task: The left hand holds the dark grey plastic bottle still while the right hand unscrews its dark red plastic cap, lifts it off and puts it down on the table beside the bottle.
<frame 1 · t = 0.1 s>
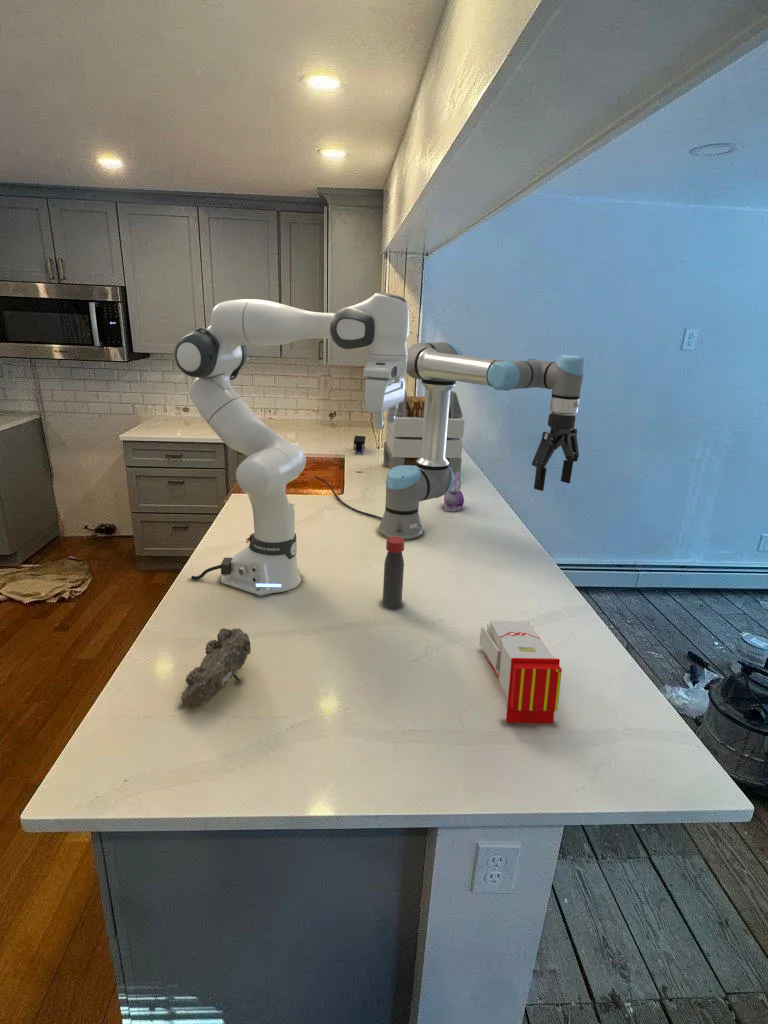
left hand: (385, 425, 137), 48 cm above the counter, tool pointing down, fingers open, 8 cm apart
right hand: (552, 485, 166), 28 cm above the counter, tool pointing down, fingers open, 13 cm apart
toy: (512, 681, 123), on the counter
bottle: (392, 604, 152), on the counter
figurine: (453, 508, 228), on the counter
cap: (395, 541, 146), point 18 cm above the counter, screwed on, not yet turned
fossil: (221, 679, 119), on the counter
white wooden crate: (419, 473, 275), on the counter
figurine character: (359, 451, 311), on the counter
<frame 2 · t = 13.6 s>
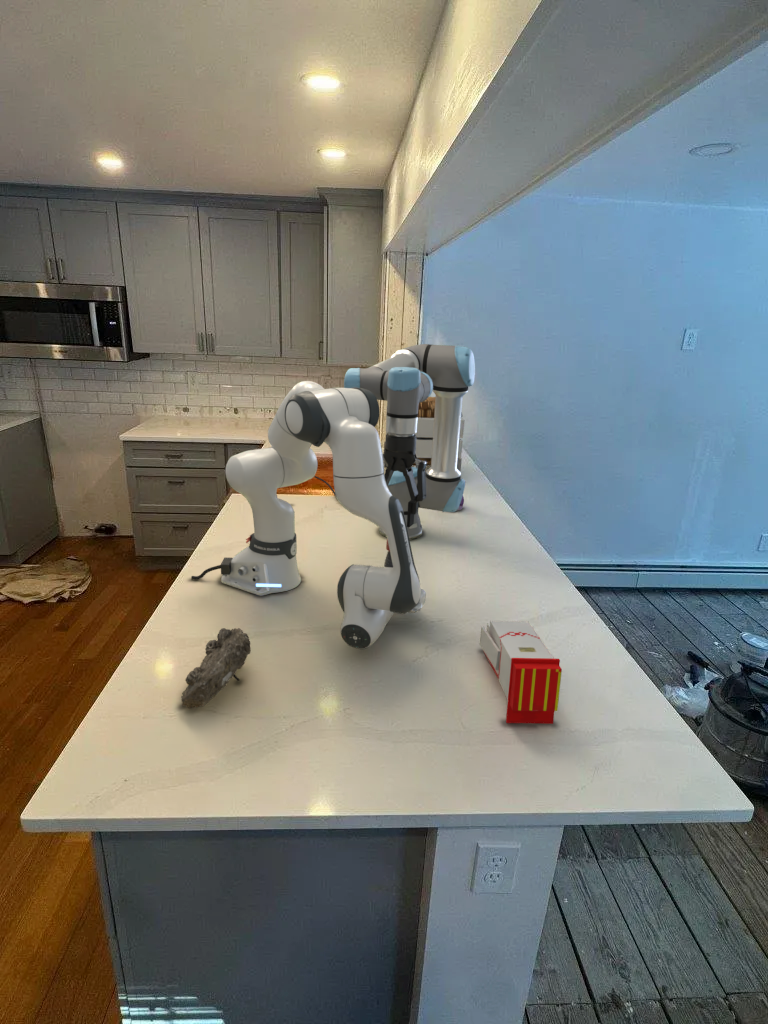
left hand: (394, 580, 151), 7 cm above the counter, tool horizontal, fingers closed on bottle, 5 cm apart
right hand: (396, 522, 144), 24 cm above the counter, tool pointing down, fingers open, 7 cm apart
bottle: (392, 604, 152), on the counter, touching left hand
everything else where it was.
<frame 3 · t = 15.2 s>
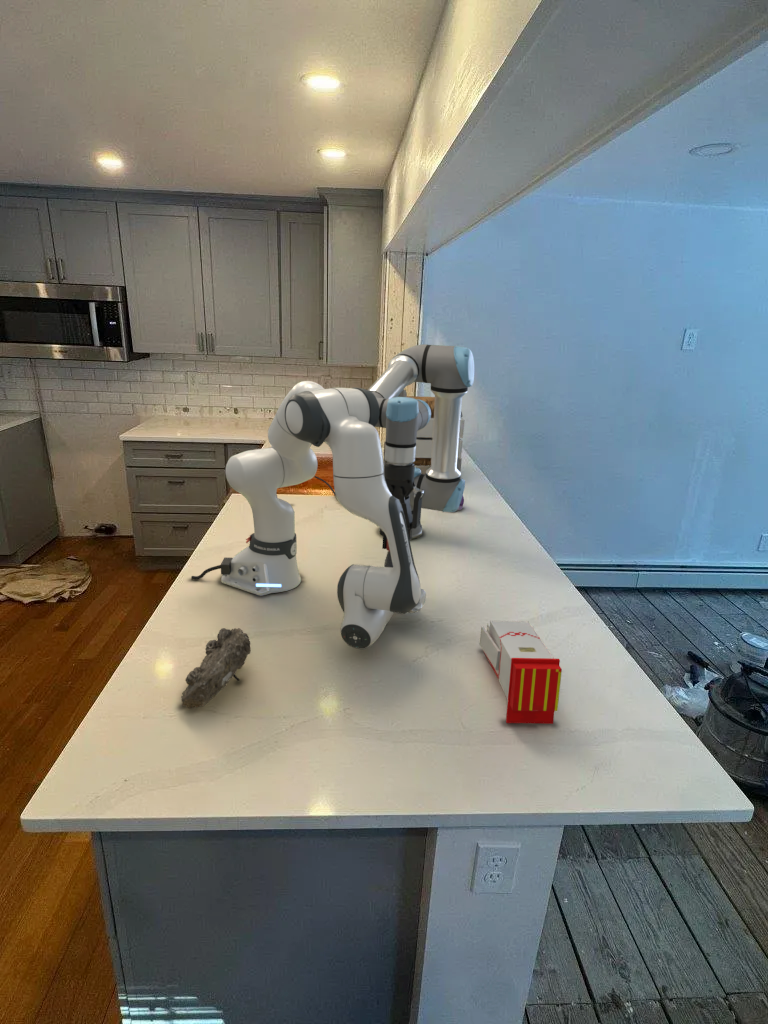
left hand: (394, 580, 151), 7 cm above the counter, tool horizontal, fingers closed on bottle, 5 cm apart
right hand: (395, 549, 147), 16 cm above the counter, tool pointing down, fingers closed on cap, 5 cm apart
bottle: (392, 604, 152), on the counter, touching left hand
cap: (395, 541, 146), point 18 cm above the counter, screwed on, not yet turned, touching right hand
everything else where it was.
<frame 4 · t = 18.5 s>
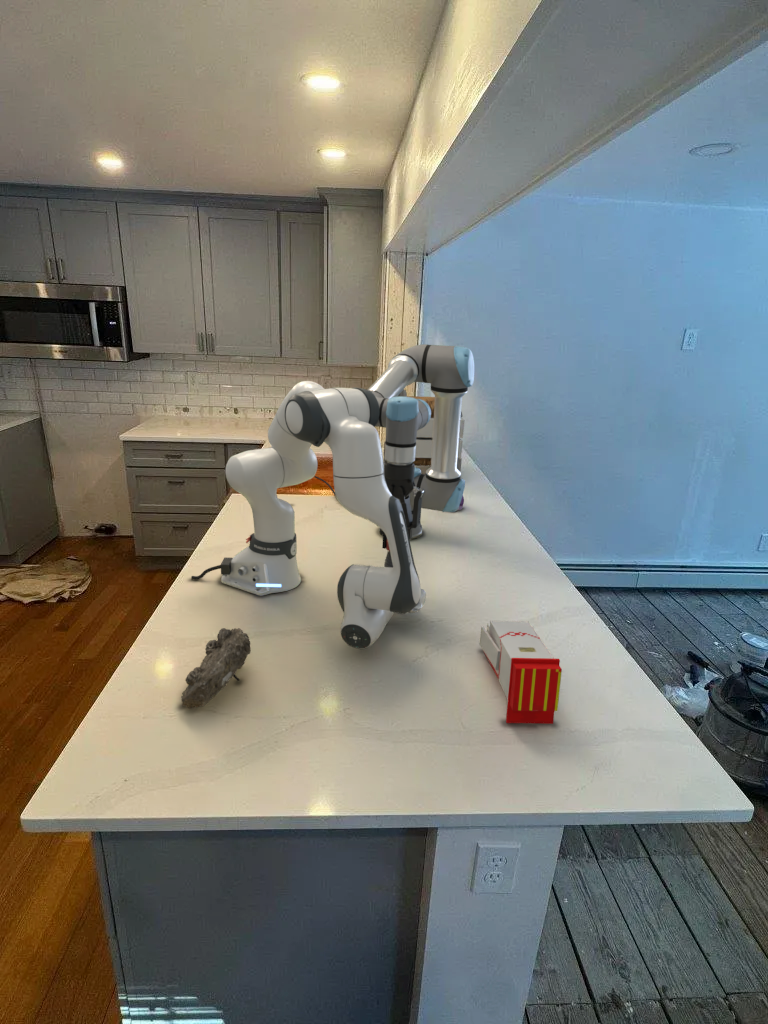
left hand: (394, 580, 151), 7 cm above the counter, tool horizontal, fingers closed on bottle, 5 cm apart
right hand: (395, 548, 147), 16 cm above the counter, tool pointing down, fingers closed on cap, 5 cm apart
bottle: (392, 604, 152), on the counter, touching left hand
cap: (395, 540, 146), point 18 cm above the counter, turned 119° so far, risen 0.1 cm, still on its thread, touching right hand
everything else where it was.
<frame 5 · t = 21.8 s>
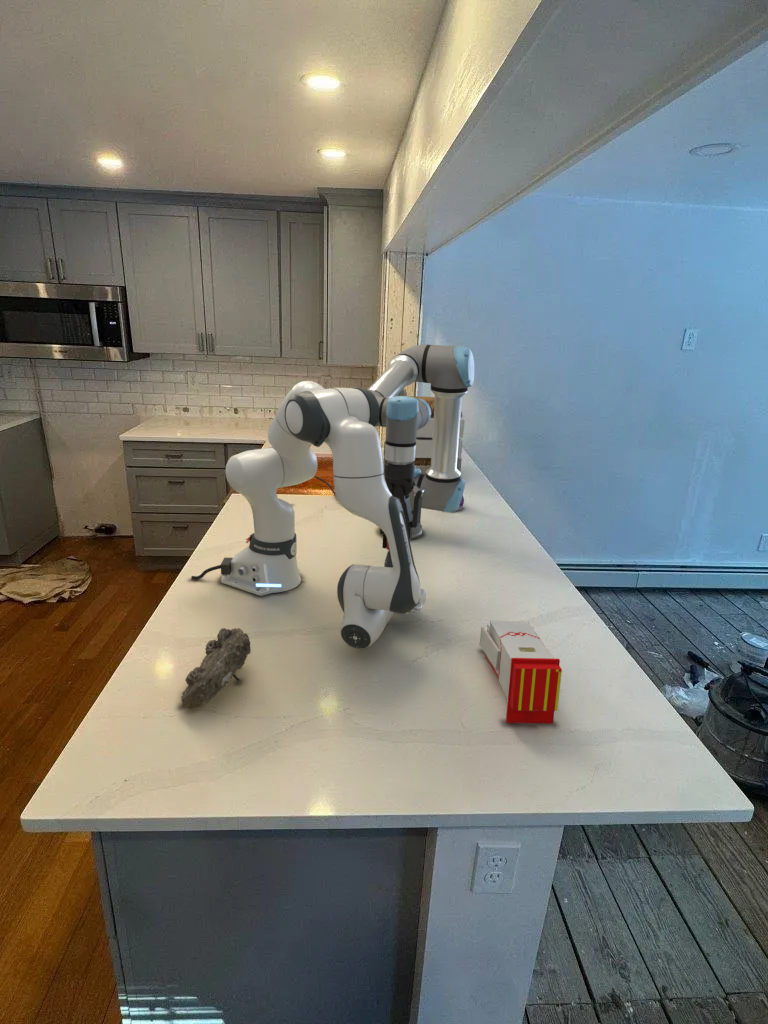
left hand: (394, 580, 151), 7 cm above the counter, tool horizontal, fingers closed on bottle, 5 cm apart
right hand: (395, 548, 147), 16 cm above the counter, tool pointing down, fingers closed on cap, 5 cm apart
bottle: (392, 604, 152), on the counter, touching left hand
cap: (395, 540, 146), point 19 cm above the counter, turned 238° so far, risen 0.2 cm, still on its thread, touching right hand
everything else where it was.
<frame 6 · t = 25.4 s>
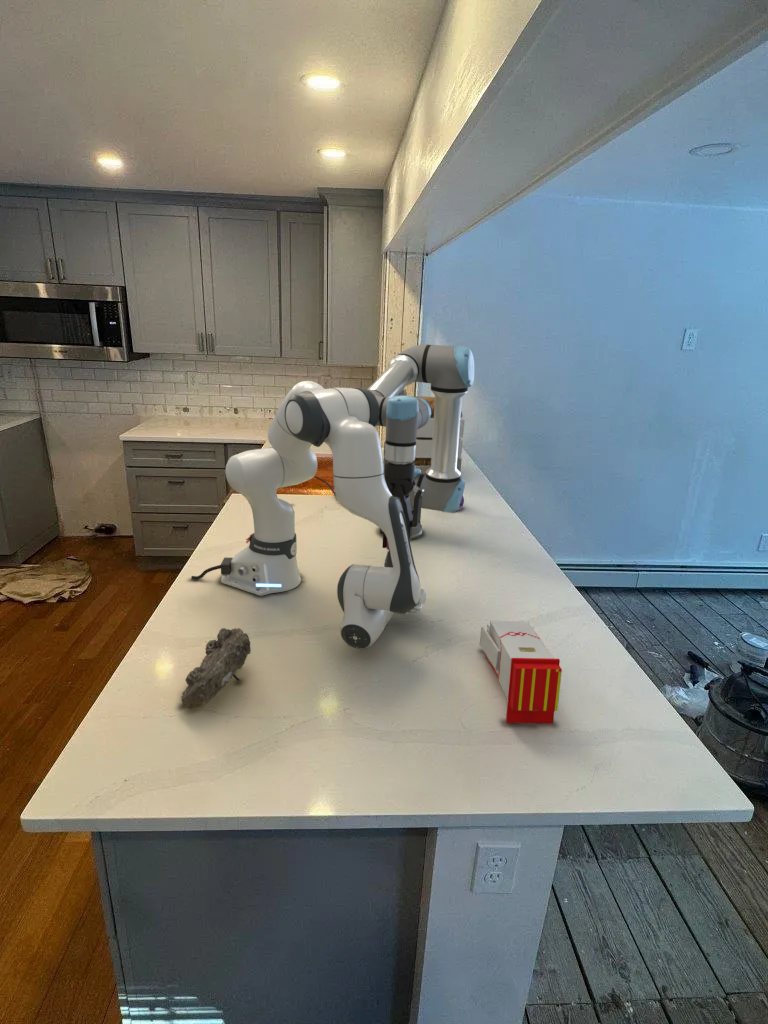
left hand: (394, 580, 151), 7 cm above the counter, tool horizontal, fingers closed on bottle, 5 cm apart
right hand: (395, 547, 147), 16 cm above the counter, tool pointing down, fingers closed on cap, 5 cm apart
bottle: (392, 604, 152), on the counter, touching left hand
cap: (395, 539, 146), point 19 cm above the counter, turned 357° so far, risen 0.3 cm, still on its thread, touching right hand
everything else where it was.
when the right hand's fingers open (2 cm above the counter, at t = 32.7 s): cap drops 2 cm, point 2 cm above the counter.
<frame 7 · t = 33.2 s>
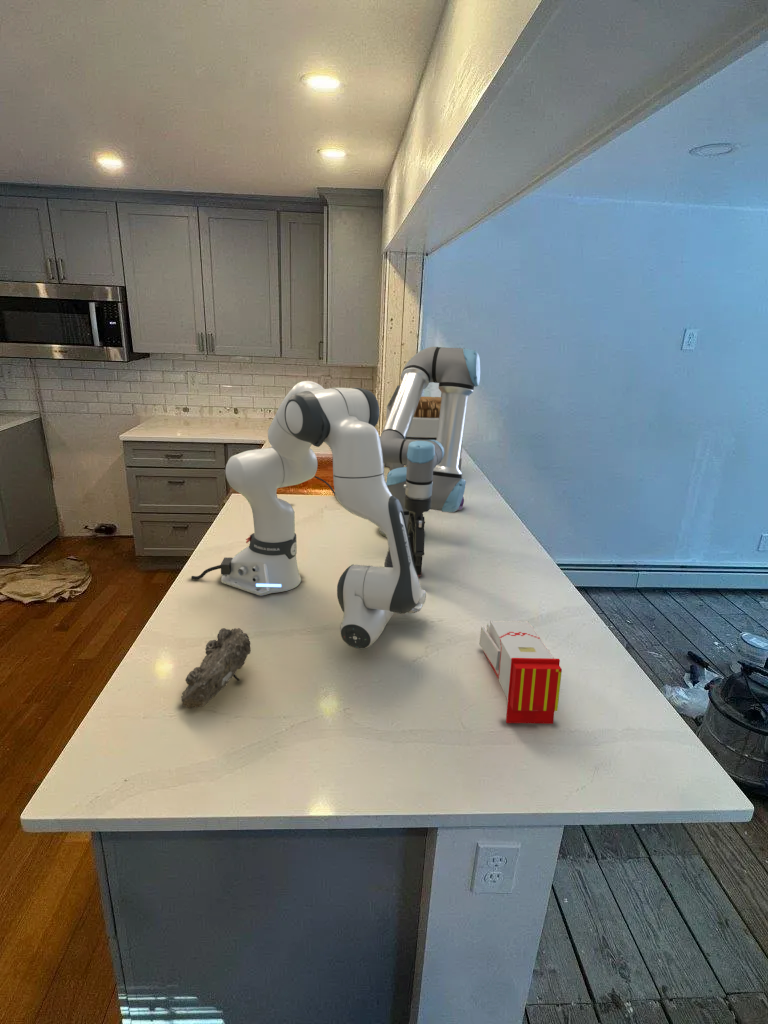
left hand: (394, 580, 151), 7 cm above the counter, tool horizontal, fingers closed on bottle, 5 cm apart
right hand: (413, 565, 169), 3 cm above the counter, tool pointing down, fingers open, 11 cm apart
bottle: (392, 604, 152), on the counter, touching left hand
cap: (413, 567, 169), point 2 cm above the counter, off its thread
everything else where it was.
when the left hand's fingers open (7 cm above the counter, at t = 34.0 s): bottle stays where it is, on the counter.
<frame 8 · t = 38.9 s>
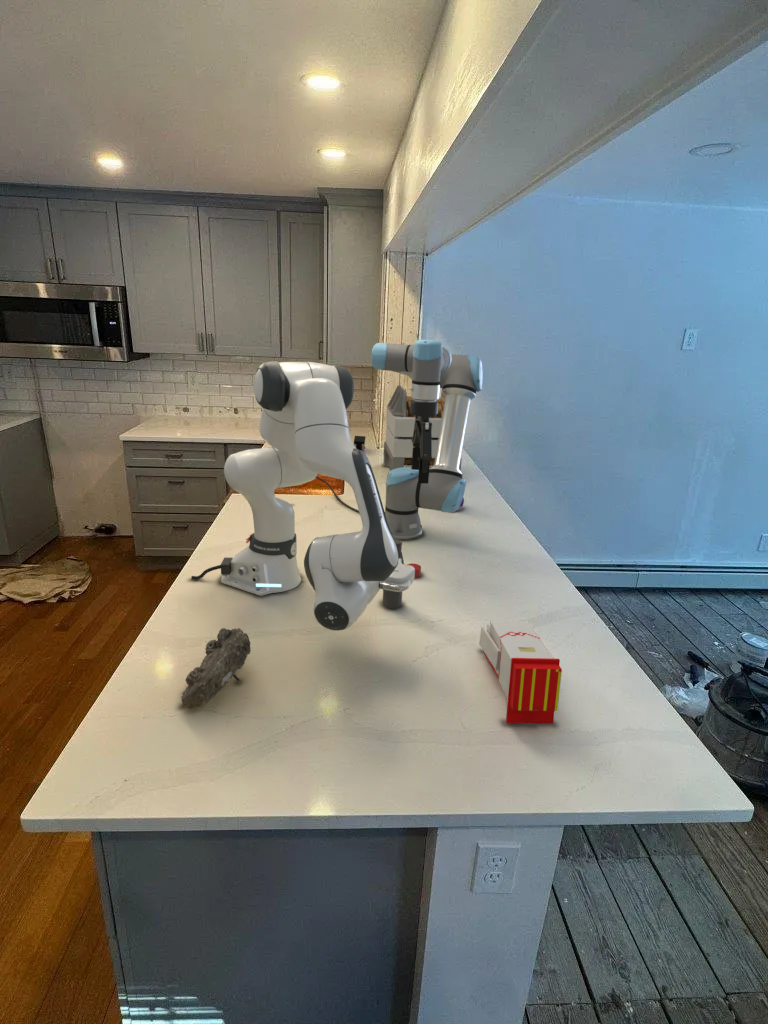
left hand: (379, 557, 134), 19 cm above the counter, tool horizontal, fingers open, 8 cm apart
right hand: (419, 476, 159), 31 cm above the counter, tool pointing down, fingers open, 13 cm apart
bottle: (392, 604, 152), on the counter
everything else where it was.
at the end: cap came off its thread; cap point 2.2 cm above the counter; the left hand is holding nothing; the right hand is holding nothing; bottle tilted 0°; bottle moved 0.1 cm from its start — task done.
